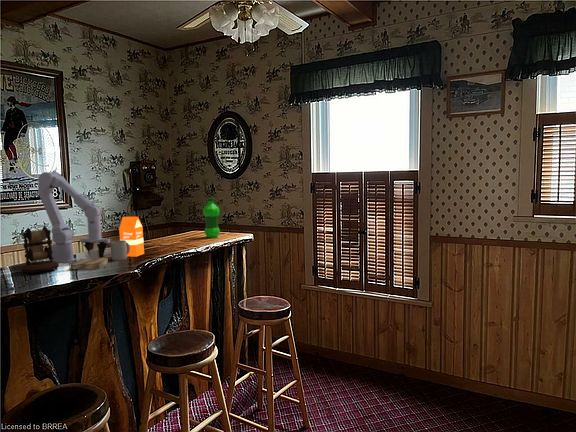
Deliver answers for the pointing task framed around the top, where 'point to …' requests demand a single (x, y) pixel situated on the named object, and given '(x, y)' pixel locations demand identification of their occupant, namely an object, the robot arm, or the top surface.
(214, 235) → the plastic bottle
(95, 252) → the ceramic block
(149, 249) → the top surface
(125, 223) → the orange juice
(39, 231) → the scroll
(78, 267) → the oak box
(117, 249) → the cup
